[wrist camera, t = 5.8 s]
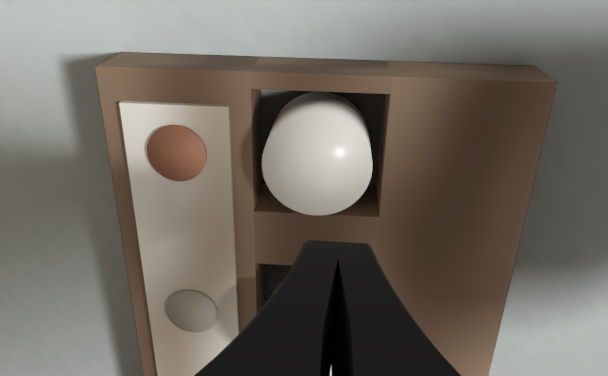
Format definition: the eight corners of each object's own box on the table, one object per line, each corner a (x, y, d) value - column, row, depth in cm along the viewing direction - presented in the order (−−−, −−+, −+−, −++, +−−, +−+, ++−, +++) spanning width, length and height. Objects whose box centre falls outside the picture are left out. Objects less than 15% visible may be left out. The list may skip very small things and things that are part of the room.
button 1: (372, 93, 16) (377, 115, 14) (365, 186, 18) (368, 217, 16) (270, 89, 16) (260, 111, 14) (271, 182, 18) (262, 212, 16)
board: (533, 66, 16) (561, 85, 14) (453, 441, 24) (464, 491, 21) (121, 52, 17) (89, 68, 15) (170, 422, 24) (154, 467, 22)
